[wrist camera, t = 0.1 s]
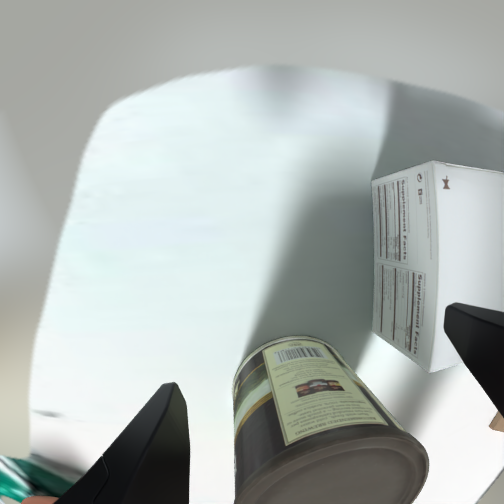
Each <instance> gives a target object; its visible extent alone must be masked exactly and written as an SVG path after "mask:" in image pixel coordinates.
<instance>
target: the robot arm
mask: <svg viewBox="0 0 504 504" xmlns="http://www.w3.org/2000/svg"><path fill="white" fill-rule="evenodd" d="M443 328H444V332H445V334H446V335H447V337H448V338H449V340H450V341H451V343H452V345H453V346H454V348H455V349H456V351H457V353H458V354H459V356H460V358H461V359H462V361H463V362H464V364H465V365H466V367H467V368H468V369H469V371H470V372H471V373H472V375H473V376H474V377H475V379H476V380H477V381H478V383H479V384H480V385H481V387H482V388H483V390H484V391H485V392H486V394H487V395H488V397H489V398H490V399H491V401H492V402H493V404H494V405H495V407H496V408H497V409H498V411H499V412H500V414H501V415H502V417H503V418H504V312H502V311H497V310H492V309H487V308H482V307H477V306H473V305H468V304H463V303H458V302H455V303H452V304H450V305H448V306H447V307H446V309H445V316H444V325H443ZM189 475H190V439H189V428H188V416H187V405H186V402H185V399H184V397H183V395H182V393H181V391H180V389H179V387H178V385H177V384H176V383H175V382H172V383H165V384H163V385H161V387H160V388H159V389H158V390H157V391H156V393H155V394H154V395H153V396H152V397H151V398H150V400H149V401H148V402H147V403H146V404H145V406H144V407H143V408H142V409H141V410H140V411H139V413H138V414H137V415H136V416H135V417H134V418H133V420H132V421H131V422H130V423H129V424H128V425H127V427H126V428H125V429H124V430H123V431H122V432H121V434H120V435H119V436H118V437H117V438H116V439H115V441H114V442H113V443H112V444H111V445H110V446H109V448H108V449H107V450H106V451H105V452H104V453H103V456H101V457H100V458H99V459H98V460H97V461H96V462H95V464H94V465H93V466H92V467H91V468H90V469H89V470H88V471H87V472H86V473H85V474H84V475H83V476H82V477H81V478H80V479H79V480H78V481H77V482H76V483H75V484H74V485H73V486H72V487H71V488H70V489H69V490H67V491H66V492H65V493H64V494H63V495H62V496H61V497H60V498H59V499H57V500H56V501H55V502H54V503H53V504H189Z"/></svg>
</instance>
